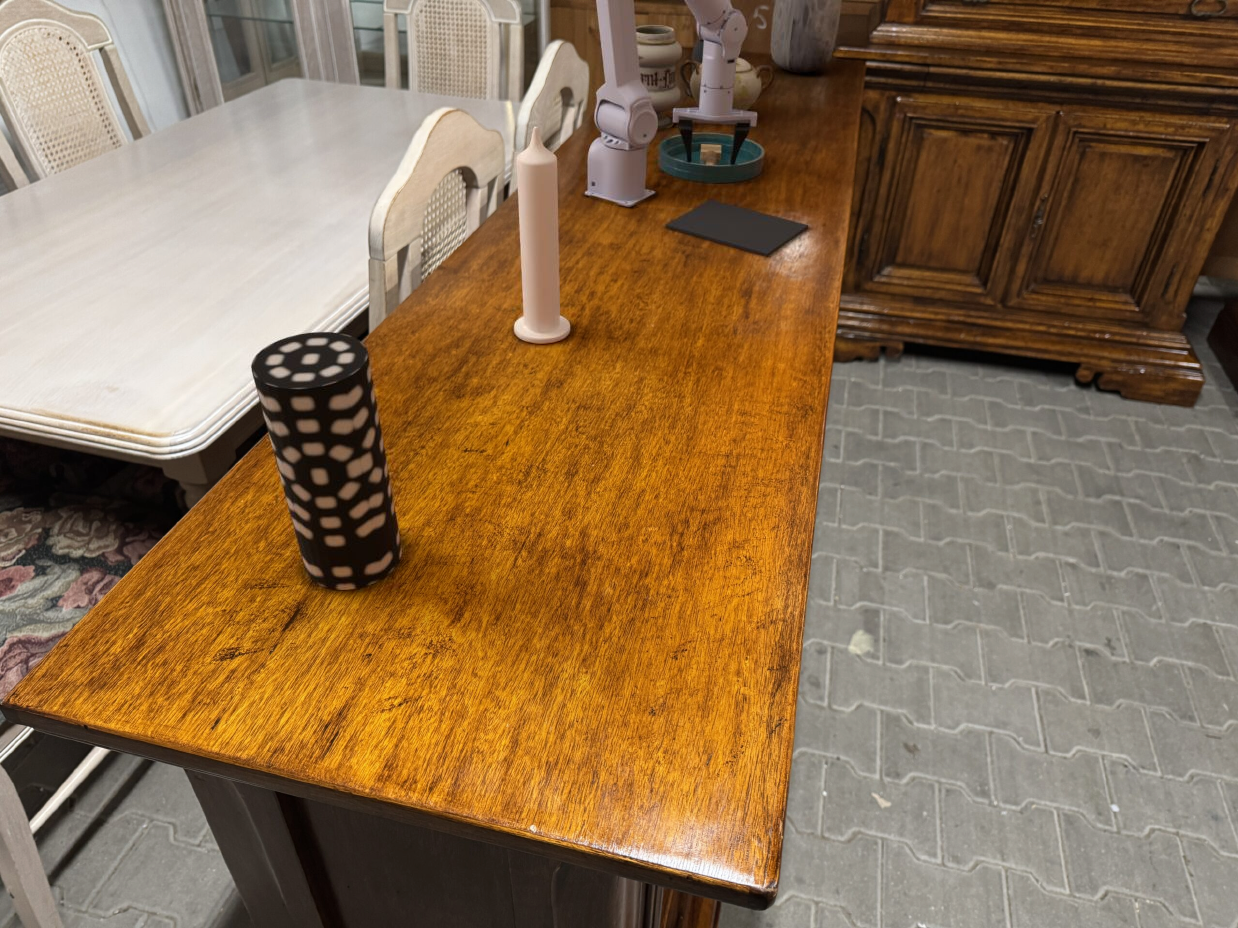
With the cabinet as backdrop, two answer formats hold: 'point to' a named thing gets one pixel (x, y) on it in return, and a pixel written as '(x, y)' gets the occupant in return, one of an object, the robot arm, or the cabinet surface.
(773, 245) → the mat
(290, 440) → the white-spotted black cylinder
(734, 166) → the bowl
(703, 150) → the wooden handle
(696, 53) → the mug
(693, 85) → the sugar bowl
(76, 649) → the cabinet surface
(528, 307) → the candle
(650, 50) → the apothecary jar
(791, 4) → the vase
